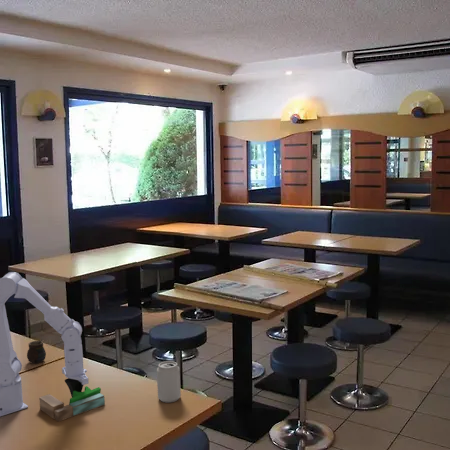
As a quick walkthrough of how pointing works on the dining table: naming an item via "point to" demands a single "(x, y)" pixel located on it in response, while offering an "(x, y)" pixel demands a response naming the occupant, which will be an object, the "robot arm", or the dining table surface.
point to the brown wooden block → (50, 404)
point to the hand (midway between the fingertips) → (76, 399)
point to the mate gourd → (36, 352)
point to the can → (168, 381)
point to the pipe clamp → (84, 394)
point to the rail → (79, 407)
